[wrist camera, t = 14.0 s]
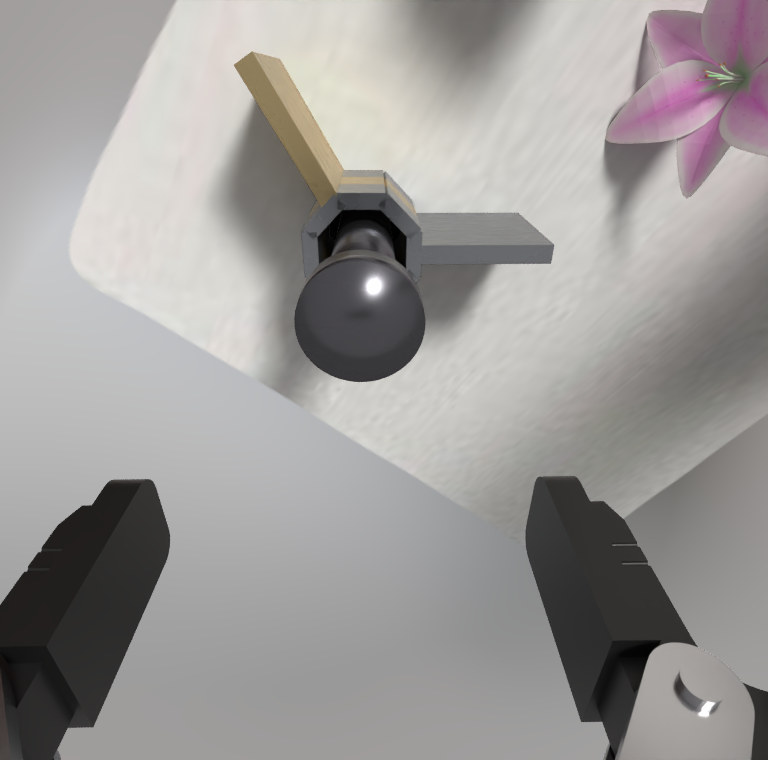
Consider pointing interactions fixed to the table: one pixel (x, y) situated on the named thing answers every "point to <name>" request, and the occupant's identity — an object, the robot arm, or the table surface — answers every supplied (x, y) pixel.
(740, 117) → the lily
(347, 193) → the hinge
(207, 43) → the table surface
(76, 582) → the robot arm
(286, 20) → the table surface
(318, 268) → the hinge pin
